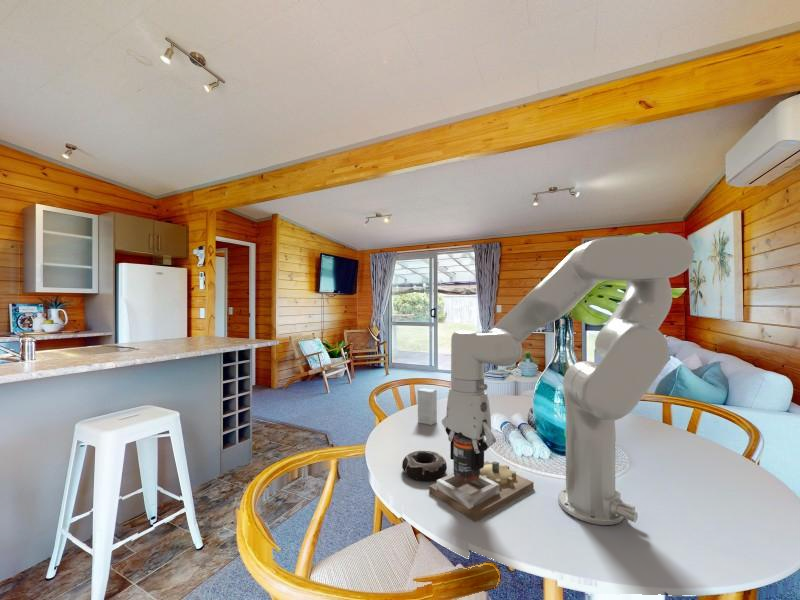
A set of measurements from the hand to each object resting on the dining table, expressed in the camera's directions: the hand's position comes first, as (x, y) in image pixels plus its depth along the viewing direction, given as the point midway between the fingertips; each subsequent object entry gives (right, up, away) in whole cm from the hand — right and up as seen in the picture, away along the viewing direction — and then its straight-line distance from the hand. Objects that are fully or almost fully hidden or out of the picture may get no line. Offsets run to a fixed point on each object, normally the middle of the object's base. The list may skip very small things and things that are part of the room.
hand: (466, 462), depth 82 cm
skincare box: (-5, -8, +50) cm, 51 cm away
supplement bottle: (0, -3, 0) cm, 3 cm away
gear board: (+4, -8, +3) cm, 10 cm away
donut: (-9, -8, +12) cm, 17 cm away
